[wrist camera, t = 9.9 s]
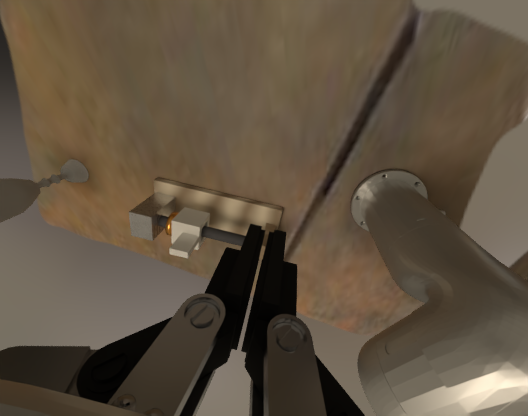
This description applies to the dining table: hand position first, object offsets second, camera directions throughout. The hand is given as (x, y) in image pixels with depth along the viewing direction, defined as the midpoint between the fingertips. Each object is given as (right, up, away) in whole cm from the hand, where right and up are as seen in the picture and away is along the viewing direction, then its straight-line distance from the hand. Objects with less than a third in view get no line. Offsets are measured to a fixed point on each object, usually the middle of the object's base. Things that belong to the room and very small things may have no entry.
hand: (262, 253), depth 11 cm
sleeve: (-13, 0, +34) cm, 36 cm away
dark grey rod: (-11, -2, +32) cm, 34 cm away
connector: (-19, +2, +37) cm, 41 cm away
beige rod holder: (-10, +1, +38) cm, 39 cm away
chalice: (-39, +10, +38) cm, 56 cm away
